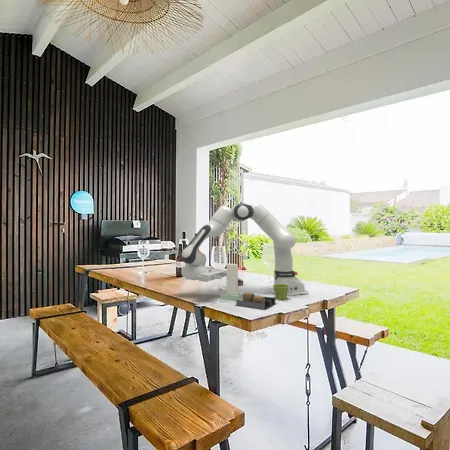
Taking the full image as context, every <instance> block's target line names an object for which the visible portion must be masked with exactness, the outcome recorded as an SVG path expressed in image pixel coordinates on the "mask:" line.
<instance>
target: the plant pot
mask: <svg viewBox="0 0 450 450" xmlns="http://www.w3.org/2000/svg"><path fill="white" fill-rule="evenodd" d="M273 287H274V291H275V293H274V298H275V300H278V301H279V300H280V301H281V300H282V301H285V300H287V299H288V298H287V297H288V296H287V292H288V288H289V285H285V284H275V285H274V284H273V285H272V288H273Z"/></svg>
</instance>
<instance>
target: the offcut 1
mask: <svg viewBox="0 0 450 450" xmlns="http://www.w3.org/2000/svg"><path fill="white" fill-rule="evenodd" d="M242 294H243V300H244V301H251V302H253V297H254V295H255V293H253V292H245V293H242Z"/></svg>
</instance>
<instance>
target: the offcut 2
mask: <svg viewBox="0 0 450 450" xmlns="http://www.w3.org/2000/svg"><path fill="white" fill-rule="evenodd" d="M262 296H263V295H256V296H254V297H253V302H258V303H265V297H266V296H264V297H262Z"/></svg>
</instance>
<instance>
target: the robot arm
mask: <svg viewBox="0 0 450 450" xmlns="http://www.w3.org/2000/svg"><path fill="white" fill-rule="evenodd" d="M248 219H251V220H253V222H254V223H255V224H256V225H257V226H258V227H259V228H260V229H261V230H262V231H263V232H264V233H265V234H266V235H267V236H268V237H269V238H270V239H271V240H272V242H273V251H274V252H273V253H274V271H273V278H274V281H273V285H275V284H285V285H289V288H288V292H287V297H289V296H290V297H291V296H301V295H300V294H303V295H309V291H308V290H307V289H306V288H305V283H304V282H303V281H301V280H300V279H299V278H298V277H296V276H298V274H299V272H297V271H294V270H293V255H292V248H294V246H295V245H296V240H297V239H296V238H295V236H294V235H293V234H292V233H291V231H290V230H289V229H287V227H285V225H284V224H282V223H281V222H280V221H278V219H277V218H276V217H275V216H274V214H272V212H270V211H269V210H268V208H267V207H265V206H264V205H263V204H261V203H260V202H254V203H252V204H247V203H243V202H242V203H237V204H235V205H234V206H232V207H228V206H225V205H221V206H219V207H218V208H217V210H216V211H215V212H214V214H213V215H212V217H211V218H210V220H209V221H208V222H207V223H206V224H205V225H203V226H202V227H201V228H200V229H199V230H198V232H197V233H196V234H195V235H194V237H193V238H192V240H191V241H190V242H189V244H187V245H186V246H185V247H183V249H182V251H181V253H180V258H181V262H183V263H185V265H183V266H182V267H181V271H180V272H181V276H182V277H183V279H186V280H190V281H198V282H205V283H207V282H211V281H213V280H221V279H222V278H225V277H226V278H227V269H226V270H225V269H221V268H216V267H213V266H205V265H206V262H207V256H206V254H205V253H203V252H202V251H199V248H200V247H201V246H202V244H203V243H204V242H205V241H206V239H208V238H212V237H213V238H215V237H216V238H217V237H221V236H222V235H223V234H224V233H225V231H226V229H228V228H227V227H228V226H229V224H230V223H231V222H232V221H235V222H245V221H246V220H248ZM271 293H272V294H275V291H274V287H273V286H272V291H271Z"/></svg>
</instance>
